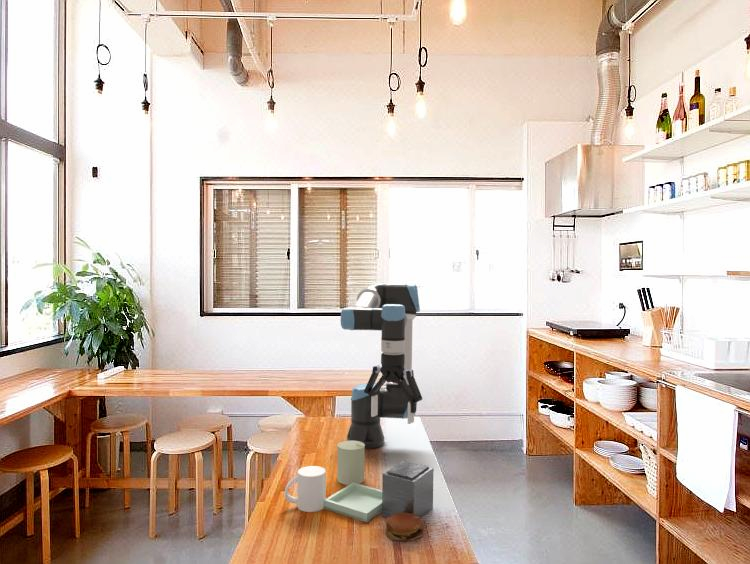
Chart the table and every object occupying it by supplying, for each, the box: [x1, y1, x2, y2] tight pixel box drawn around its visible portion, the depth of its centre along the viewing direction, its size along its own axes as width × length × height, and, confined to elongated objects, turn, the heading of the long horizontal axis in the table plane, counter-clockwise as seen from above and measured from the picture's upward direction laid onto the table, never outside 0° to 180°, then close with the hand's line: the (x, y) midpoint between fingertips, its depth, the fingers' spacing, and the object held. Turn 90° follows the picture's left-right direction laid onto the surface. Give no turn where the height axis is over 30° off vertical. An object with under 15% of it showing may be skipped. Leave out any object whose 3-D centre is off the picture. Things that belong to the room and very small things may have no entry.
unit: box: [381, 460, 434, 520], centre depth 148 cm, size 12×10×13 cm
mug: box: [283, 465, 327, 513], centre depth 151 cm, size 8×10×12 cm
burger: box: [384, 513, 424, 542], centre depth 136 cm, size 10×9×5 cm
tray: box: [323, 482, 382, 523], centre depth 152 cm, size 15×15×2 cm
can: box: [336, 440, 366, 486], centre depth 171 cm, size 9×9×12 cm
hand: (392, 419), depth 165 cm, fingers open, 13 cm apart
